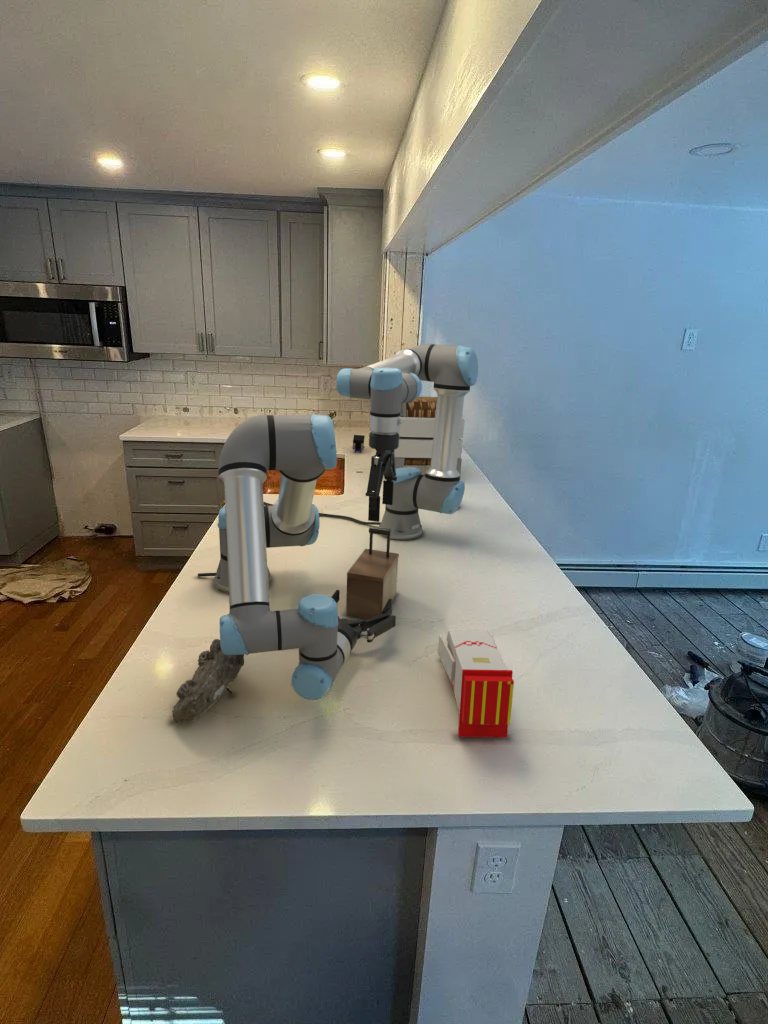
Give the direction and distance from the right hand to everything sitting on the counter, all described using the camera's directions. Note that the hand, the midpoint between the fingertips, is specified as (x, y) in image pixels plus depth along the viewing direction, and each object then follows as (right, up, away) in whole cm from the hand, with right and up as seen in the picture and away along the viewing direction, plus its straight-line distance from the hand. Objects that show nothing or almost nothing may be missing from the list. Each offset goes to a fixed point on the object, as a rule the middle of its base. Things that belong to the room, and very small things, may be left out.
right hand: (380, 512), depth 148 cm
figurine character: (-13, +34, +164) cm, 168 cm away
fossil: (-34, -36, -34) cm, 60 cm away
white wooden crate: (+18, +19, +126) cm, 129 cm away
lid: (-2, -14, 0) cm, 14 cm away
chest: (-2, -25, +3) cm, 25 cm away
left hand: (-4, -22, -7) cm, 23 cm away
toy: (+19, -38, -30) cm, 52 cm away
